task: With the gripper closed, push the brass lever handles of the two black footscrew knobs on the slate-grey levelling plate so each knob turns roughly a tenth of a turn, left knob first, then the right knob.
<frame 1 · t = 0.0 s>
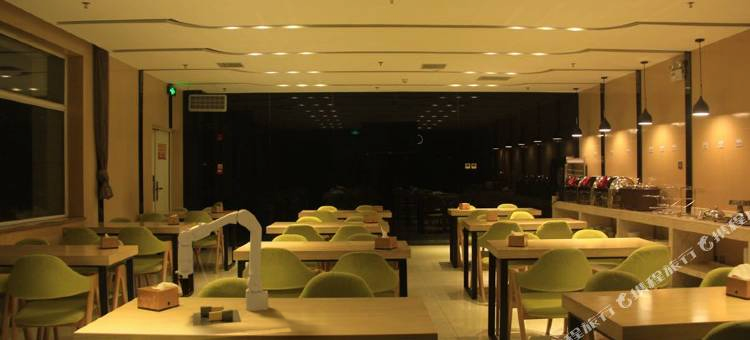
hand: (185, 292, 240), 10 cm above the table, fingers open, 7 cm apart
levelling plate: (216, 320, 234), on the table
knob right: (212, 309, 239), point 3 cm above the table, hinge at 0.0°
knob left: (221, 314, 230), point 3 cm above the table, hinge at 0.0°
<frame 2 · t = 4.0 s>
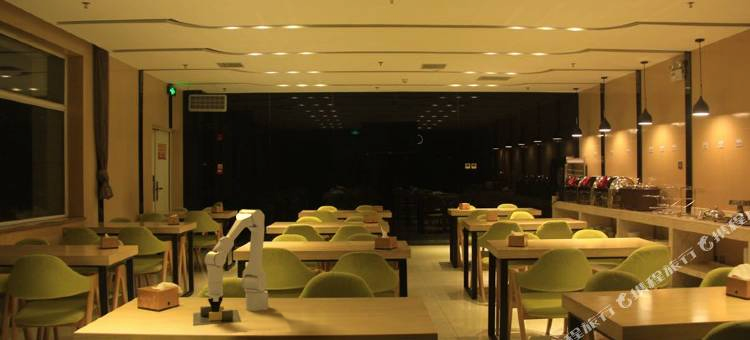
hand: (215, 316, 230), 3 cm above the table, fingers closed, pressing on knob left
knob left: (221, 314, 230), point 3 cm above the table, hinge at 0.1°, touching gripper
everything else where it was.
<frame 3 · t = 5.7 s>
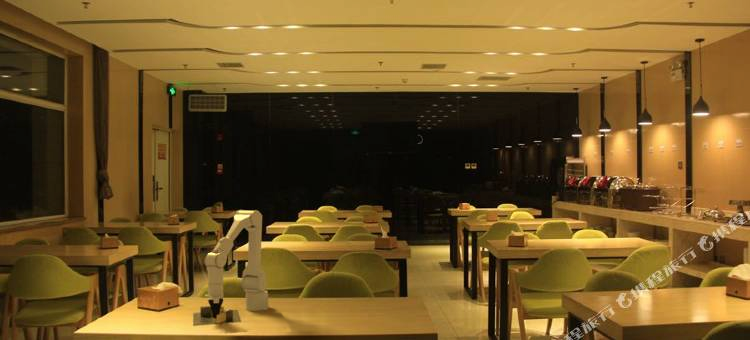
hand: (215, 317, 227), 3 cm above the table, fingers closed
knob left: (224, 315, 228), point 3 cm above the table, hinge at 57.7°
everything else where it was.
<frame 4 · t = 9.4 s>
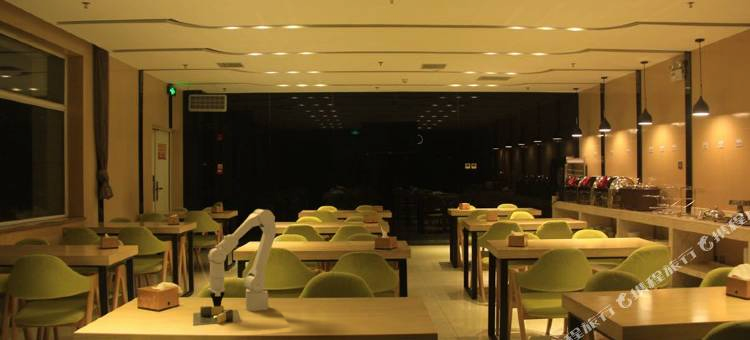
hand: (217, 310, 240), 3 cm above the table, fingers closed, pressing on knob right
knob right: (212, 310, 239), point 3 cm above the table, hinge at -0.5°, touching gripper
knob left: (224, 315, 228), point 3 cm above the table, hinge at 59.3°
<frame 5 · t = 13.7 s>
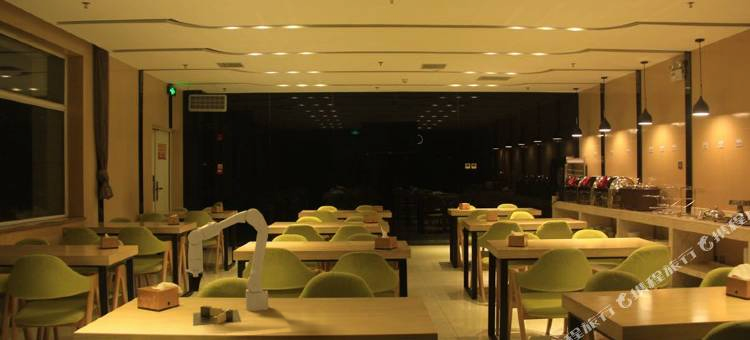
hand: (195, 291, 243), 10 cm above the table, fingers closed
knob right: (211, 310, 237), point 3 cm above the table, hinge at -32.3°, touching levelling plate
everything else where it was.
at the end: knob left at +59° (first picture: +0°); knob right at -32° (first picture: +0°) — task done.
